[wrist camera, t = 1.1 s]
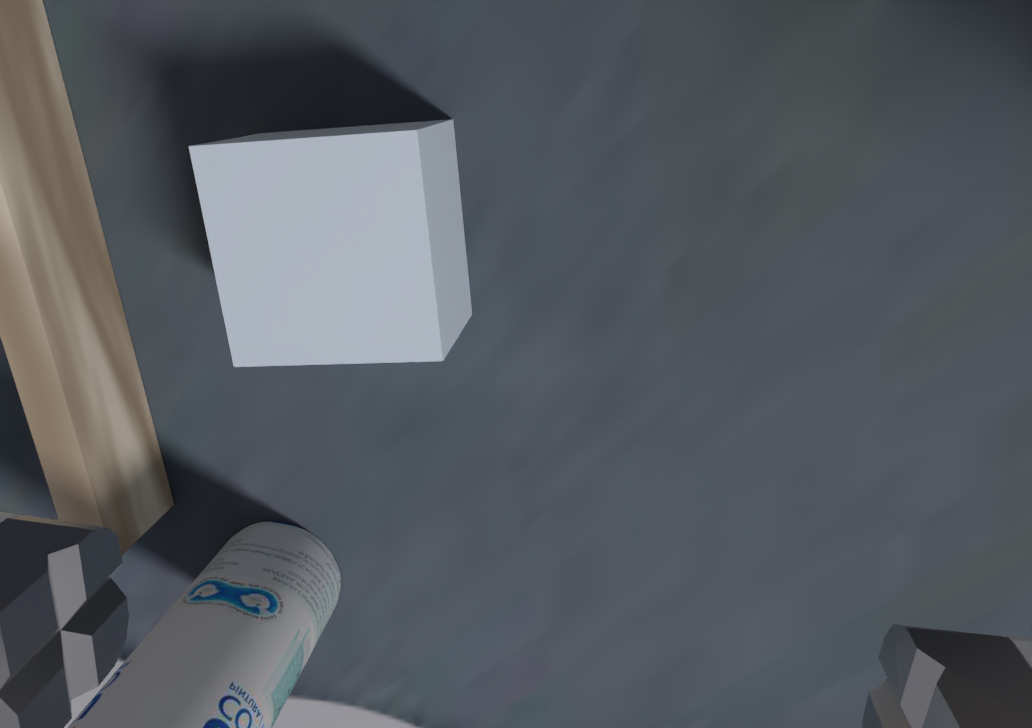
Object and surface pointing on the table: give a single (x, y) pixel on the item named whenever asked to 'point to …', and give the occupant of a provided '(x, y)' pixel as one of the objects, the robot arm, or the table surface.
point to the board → (67, 302)
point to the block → (337, 243)
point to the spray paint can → (228, 638)
